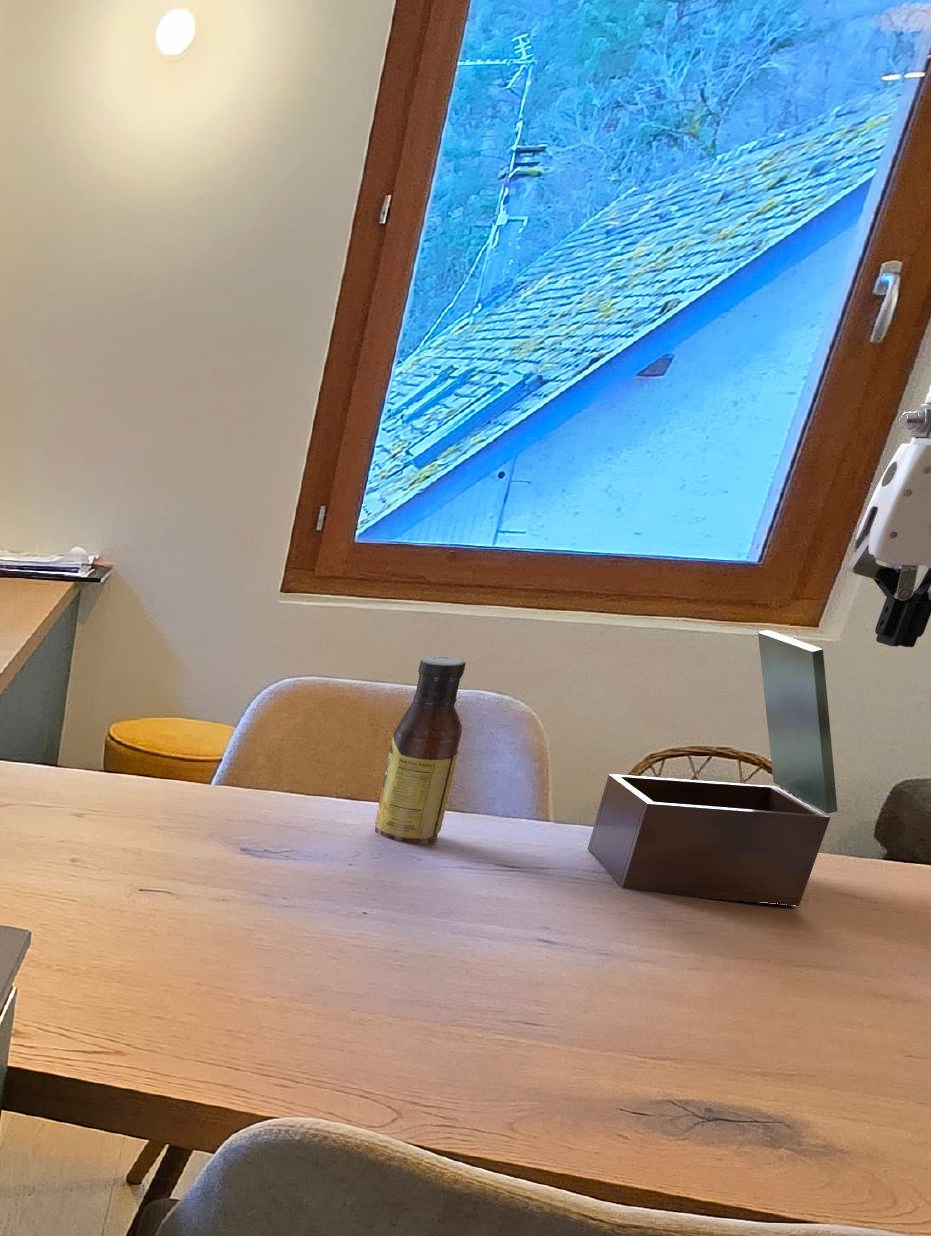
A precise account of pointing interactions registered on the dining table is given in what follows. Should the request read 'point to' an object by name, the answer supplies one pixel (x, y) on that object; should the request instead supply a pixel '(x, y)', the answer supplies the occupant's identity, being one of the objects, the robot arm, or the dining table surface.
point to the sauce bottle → (423, 756)
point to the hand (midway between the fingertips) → (894, 644)
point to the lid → (798, 719)
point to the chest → (707, 839)
